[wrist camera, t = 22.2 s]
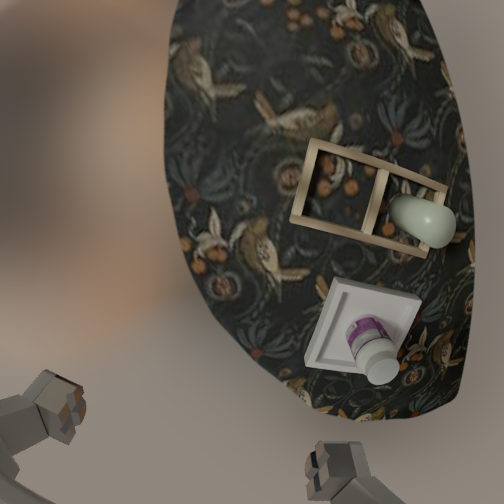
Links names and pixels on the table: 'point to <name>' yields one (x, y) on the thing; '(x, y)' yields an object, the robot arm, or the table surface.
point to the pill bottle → (372, 349)
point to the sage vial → (423, 219)
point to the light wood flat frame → (375, 199)
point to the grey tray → (349, 307)
